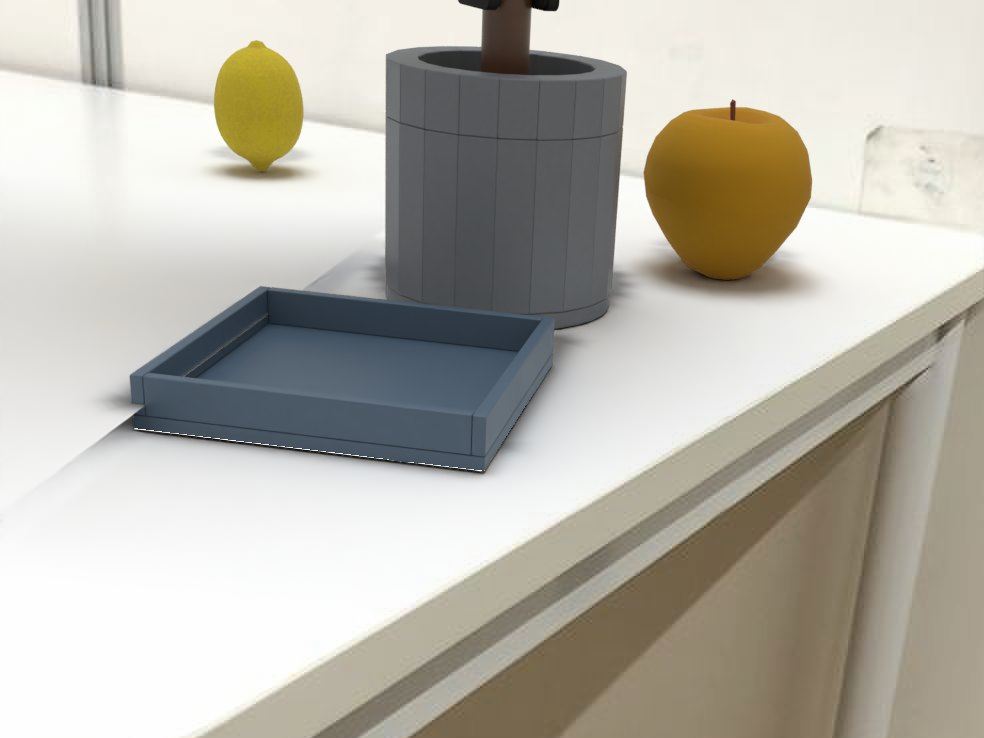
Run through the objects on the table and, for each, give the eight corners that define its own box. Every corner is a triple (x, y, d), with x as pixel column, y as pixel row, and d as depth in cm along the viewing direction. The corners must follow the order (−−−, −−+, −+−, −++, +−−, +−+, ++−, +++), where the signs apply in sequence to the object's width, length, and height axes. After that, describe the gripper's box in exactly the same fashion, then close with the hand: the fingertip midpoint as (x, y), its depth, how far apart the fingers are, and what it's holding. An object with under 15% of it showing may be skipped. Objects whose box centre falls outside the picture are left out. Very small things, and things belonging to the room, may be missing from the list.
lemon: (199, 168, 96) (192, 37, 93) (265, 159, 100) (261, 33, 97) (257, 183, 93) (252, 48, 90) (322, 173, 97) (320, 43, 94)
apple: (674, 243, 86) (688, 80, 82) (822, 269, 83) (845, 100, 79) (609, 274, 79) (621, 97, 75) (769, 304, 76) (791, 120, 72)
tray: (133, 430, 54) (128, 374, 53) (261, 332, 66) (259, 285, 65) (484, 473, 53) (486, 416, 52) (552, 365, 64) (555, 317, 63)
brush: (475, 232, 68) (486, -132, 62) (429, 209, 72) (435, -137, 65) (570, 227, 71) (591, -125, 64) (520, 204, 74) (535, -130, 68)
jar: (356, 316, 69) (355, 64, 64) (419, 261, 78) (422, 40, 74) (589, 341, 68) (606, 87, 63) (623, 283, 77) (640, 59, 72)
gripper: (647, -448, 66) (616, 1, 74) (298, -515, 58) (307, -6, 66) (746, -469, 60) (701, 20, 68) (374, -548, 52) (373, 14, 60)
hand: (507, 3), depth 67 cm, fingers closed on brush, 2 cm apart
